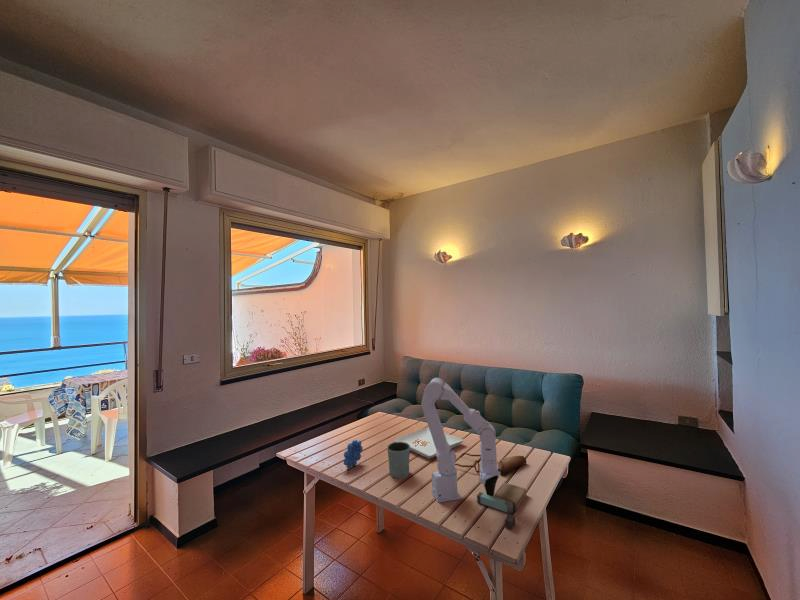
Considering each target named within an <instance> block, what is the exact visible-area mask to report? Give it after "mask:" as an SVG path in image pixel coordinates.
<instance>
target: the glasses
mask: <svg viewBox="0 0 800 600" xmlns="http://www.w3.org/2000/svg"><path fill="white" fill-rule="evenodd" d="M464 455H466V456H469V457H481V454H470V453H468V452H467V453H466V452H463V453H462V454H461V455H460V456H459V458H462V457H463V456H464ZM480 463H481V458H479V459H478V460H475V461H474V465H472V464H471V465H470V464H469V465H468V464H467V465H465V464H463V465H462V464H459V463H455V466H459V467H461V468H474V470H475V472H476V473H477V474H479V472H480V471H481V465H480ZM477 465H478V466H477ZM477 467H478V469H477Z"/></svg>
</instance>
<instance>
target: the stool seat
mask: <svg viewBox="0 0 800 600" xmlns="http://www.w3.org/2000/svg"><path fill="white" fill-rule="evenodd" d="M493 497H496V498H499V499H502V500H505V501H510V502H512V503H513V512H514V511H515V512H518V509H519V508H520V506H521V504H522V503H523V502H524V499H525V498H526V497H527V489H526V488H524V487H522V486H518V485H515V484H510V483H507V482H504V483H503V484H502V486H501V487H500V489H499V490H498V491H497V493H496V494H494V496H493ZM515 525H516V516H515V515H513V514H512V513H508V514H507V516H506V517H505V519H504V528H505V529H508V530H510V531H511V530H513V528H514V526H515Z"/></svg>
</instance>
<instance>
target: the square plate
mask: <svg viewBox="0 0 800 600" xmlns="http://www.w3.org/2000/svg"><path fill="white" fill-rule="evenodd" d="M444 434H445V437H446V440H447V443H448V444H449V445H450V447H451V449H453V448H455V447H458V446H459V445H461V444H462V443H463V442H464V441H465V440H464V439H463V438H460V437H457V436H454V435H452V434H449V433H446V432H444ZM417 439H419V440H418V441H420V440H421V441H420V442H419V444H418V443H417V442H416V444H415V443H414V444H413V443H412V442H414V441H415V440H417ZM422 441H423V442H424V441H426V442H428V443H427V445H426V446H425V447H424V446H420V445H422V444H421V442H422ZM393 442H405V443H408V444H409V445H410V452H414V453H416V454H418V455H420V456H422V457H425V458H427V459H432V458H434V457H437V455H436V447H435V444H434V441H433V438H432V435H431V432H430V429H429V427H425V428H421V429H418V430H416V431H412V432H410V433H408V434H405V435H403V436H400V437H398V438H394V439H393ZM426 442H425V443H426ZM429 442H430V443H429ZM417 444H418V445H417ZM415 445H417V446H416V447H415Z"/></svg>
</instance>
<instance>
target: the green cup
mask: <svg viewBox="0 0 800 600" xmlns="http://www.w3.org/2000/svg"><path fill="white" fill-rule="evenodd" d="M386 449H387V456H388V470H389V476H390V475H391V476H392V477H391V476H390V477H391V478H393V477H395V478H394V479H397V478H400V479H405V478H407V477H408V476H409V474H410V454H411V450H410V445H409V444H408V443H405V442H394V441H393V442H390V443H389V444H388V445H387V448H386ZM406 476H407V477H406ZM404 477H405V478H404Z"/></svg>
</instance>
